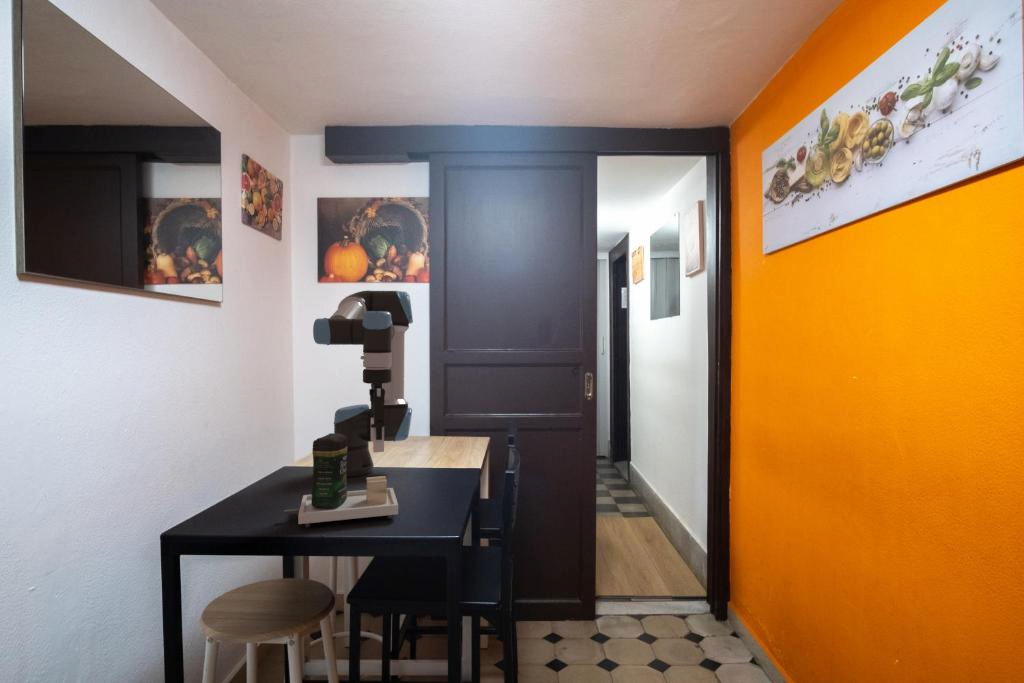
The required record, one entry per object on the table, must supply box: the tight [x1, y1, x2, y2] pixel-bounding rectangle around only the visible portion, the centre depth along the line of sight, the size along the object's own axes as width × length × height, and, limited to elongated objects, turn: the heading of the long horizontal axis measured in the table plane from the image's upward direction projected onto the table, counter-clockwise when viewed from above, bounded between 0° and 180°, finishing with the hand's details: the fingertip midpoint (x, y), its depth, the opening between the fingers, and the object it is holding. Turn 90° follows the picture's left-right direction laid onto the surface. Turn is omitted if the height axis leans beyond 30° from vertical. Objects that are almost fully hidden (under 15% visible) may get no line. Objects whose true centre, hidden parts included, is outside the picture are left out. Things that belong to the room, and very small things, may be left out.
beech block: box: [366, 475, 388, 505], centre depth 137 cm, size 5×5×6 cm
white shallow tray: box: [283, 487, 399, 528], centre depth 134 cm, size 16×28×4 cm, turn 108°
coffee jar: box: [311, 432, 348, 509], centre depth 135 cm, size 10×8×19 cm
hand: (377, 445), depth 138 cm, fingers open, 13 cm apart
